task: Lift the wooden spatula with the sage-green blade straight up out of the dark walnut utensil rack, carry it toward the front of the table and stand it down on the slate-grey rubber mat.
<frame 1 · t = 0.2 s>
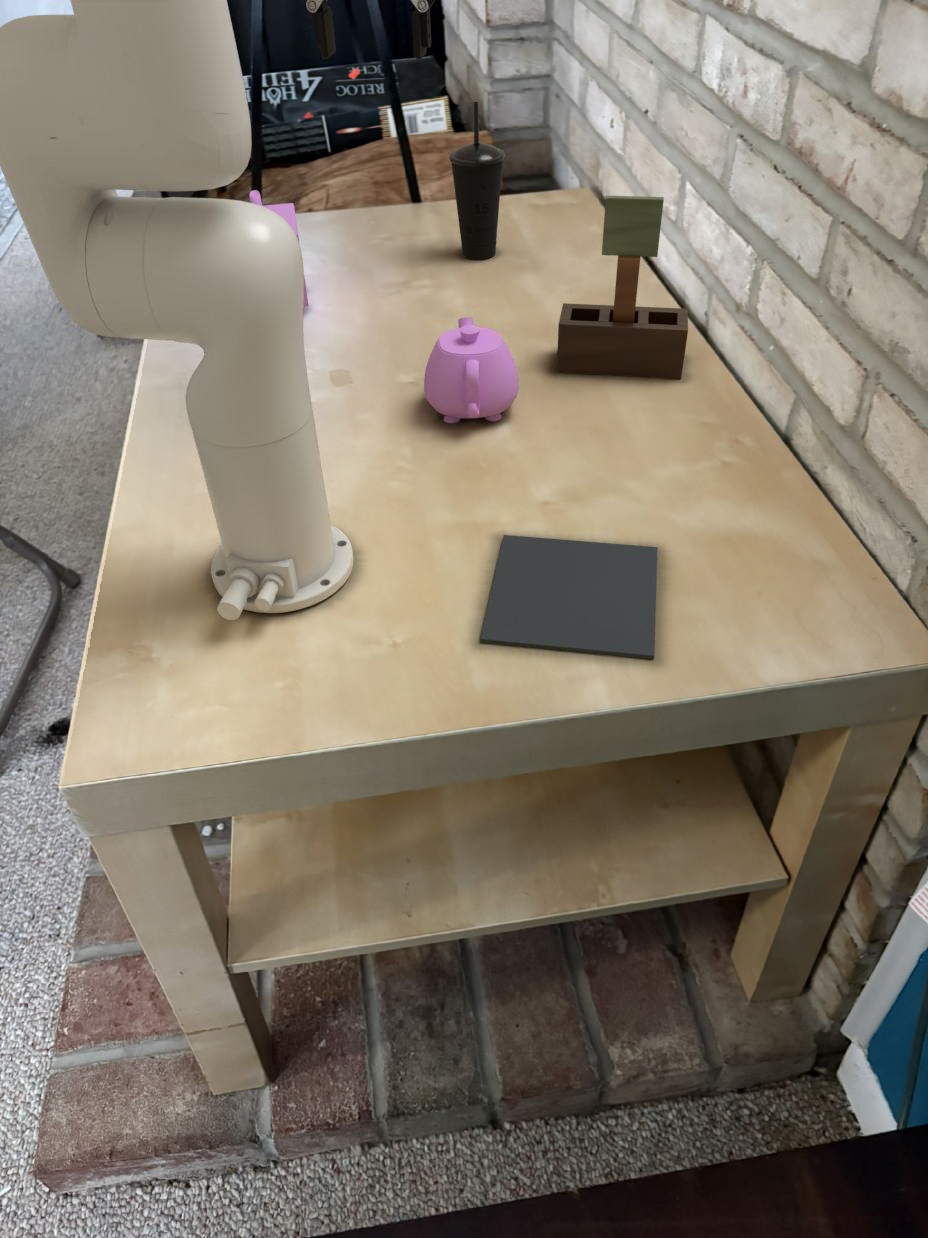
hand: (374, 55, 94), 31 cm above the table, tool pointing down, fingers open, 9 cm apart
teapot: (270, 299, 126), on the table
mat: (573, 594, 79), on the table
spatula: (626, 286, 103), in the rack
rack: (619, 364, 109), on the table
teapot 2: (471, 404, 104), on the table
drinking cup: (478, 254, 135), on the table
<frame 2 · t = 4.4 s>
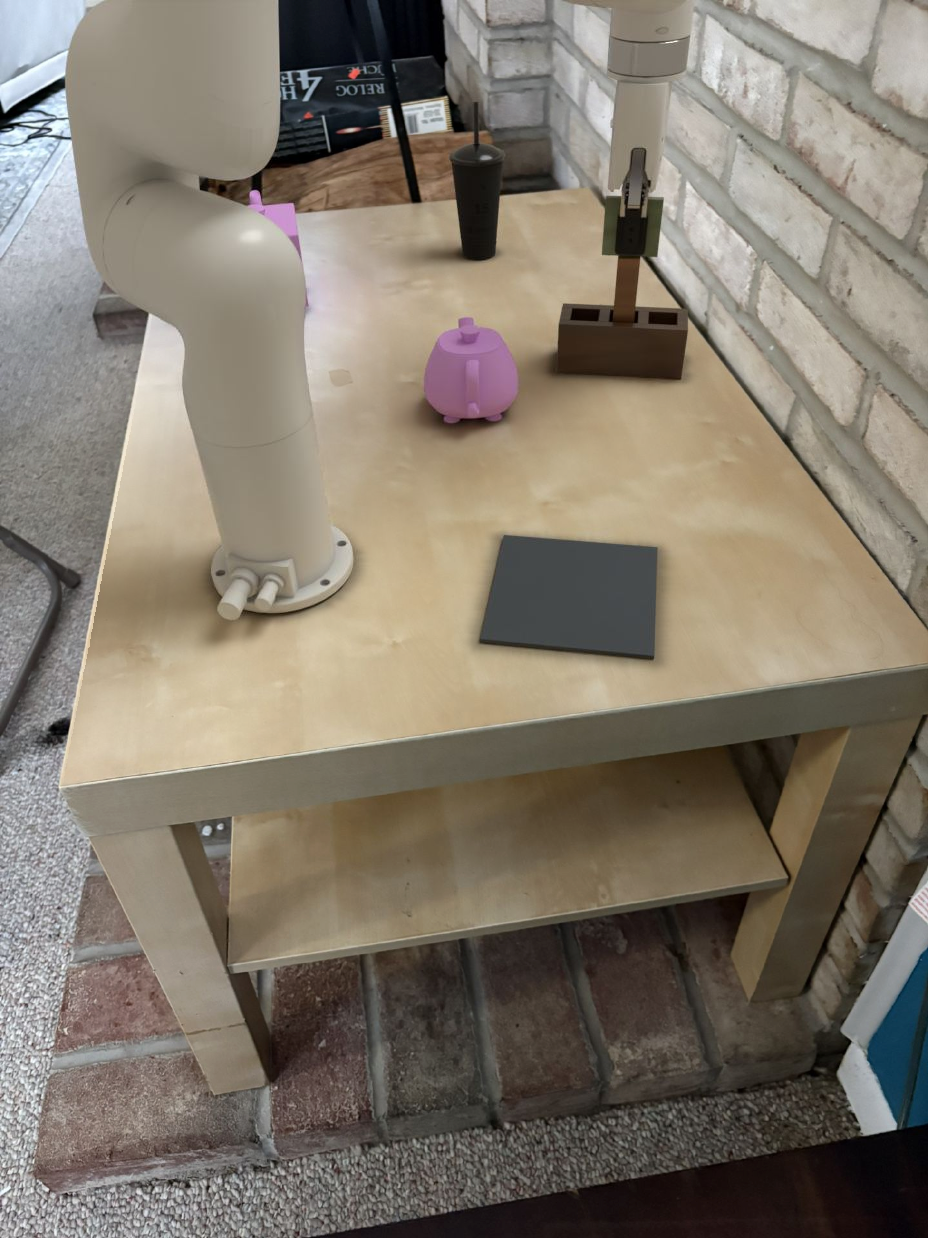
hand: (629, 249, 100), 14 cm above the table, tool pointing down, fingers closed on spatula, 1 cm apart
spatula: (626, 286, 103), in the rack, touching gripper
everything else where it was.
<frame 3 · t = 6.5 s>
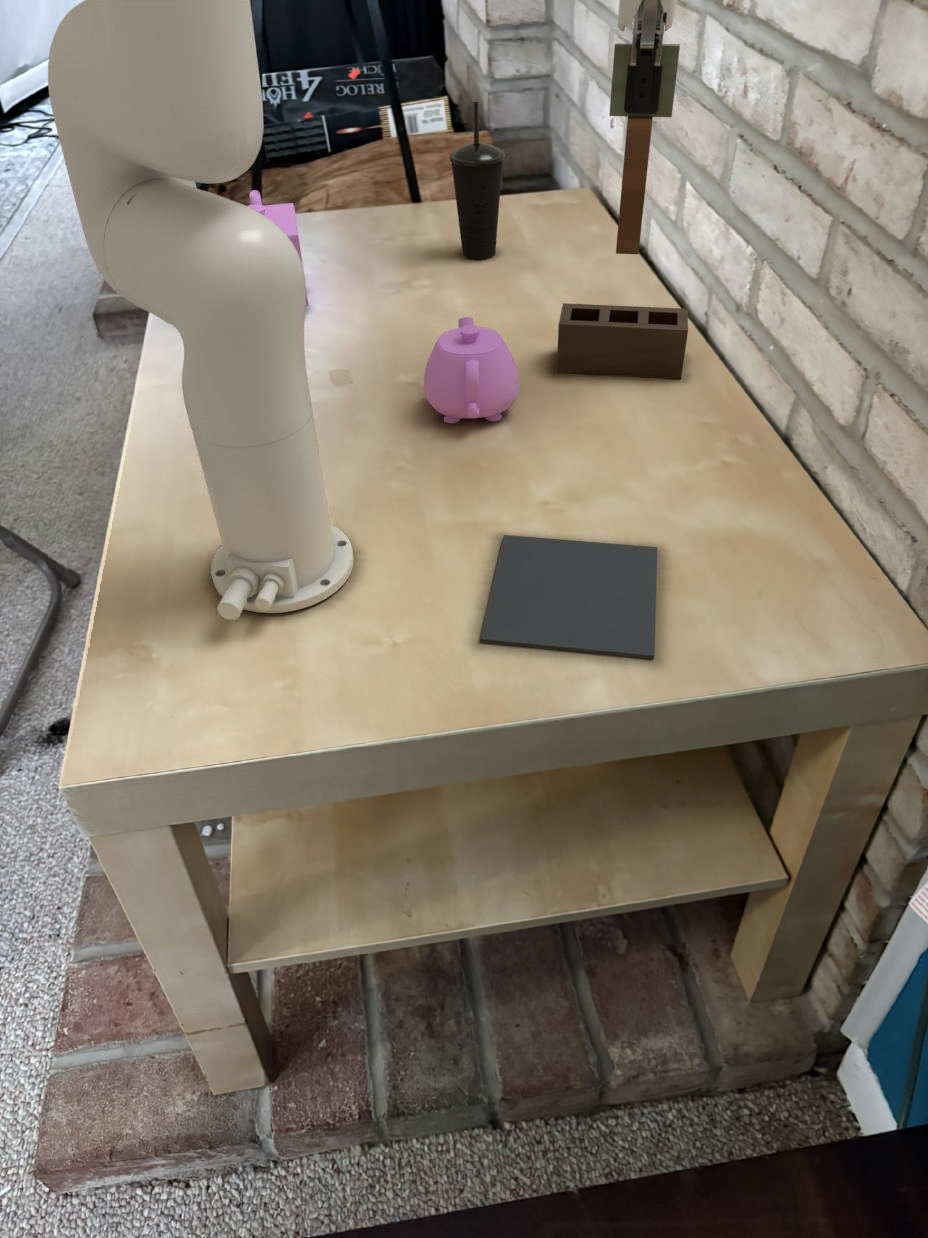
hand: (640, 109, 89), 28 cm above the table, tool pointing down, fingers closed on spatula, 1 cm apart
spatula: (636, 154, 92), point 24 cm above the table, touching gripper
everything else where it was.
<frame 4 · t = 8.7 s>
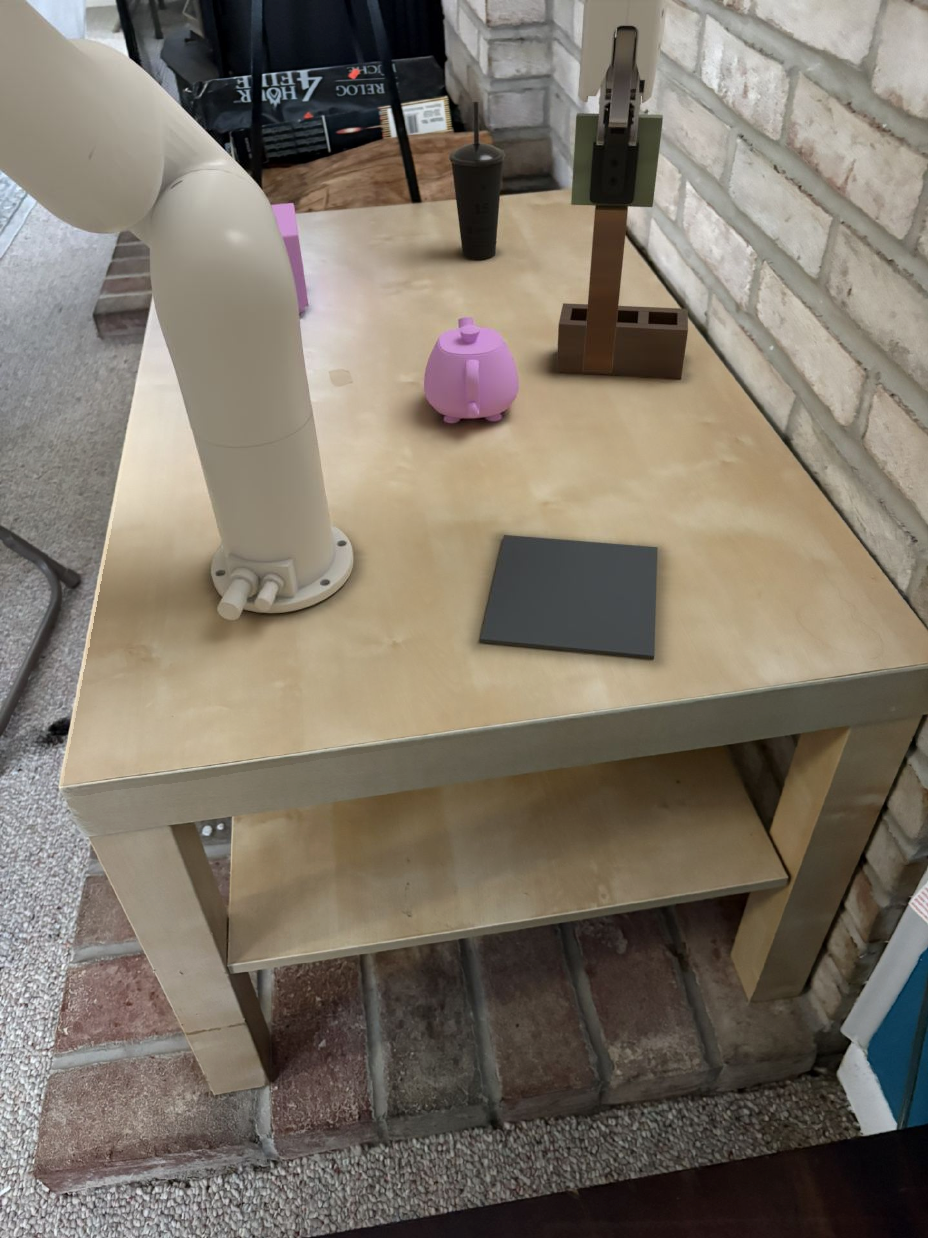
hand: (611, 197, 68), 29 cm above the table, tool pointing down, fingers closed on spatula, 1 cm apart
spatula: (607, 251, 71), point 25 cm above the table, touching gripper
everything else where it was.
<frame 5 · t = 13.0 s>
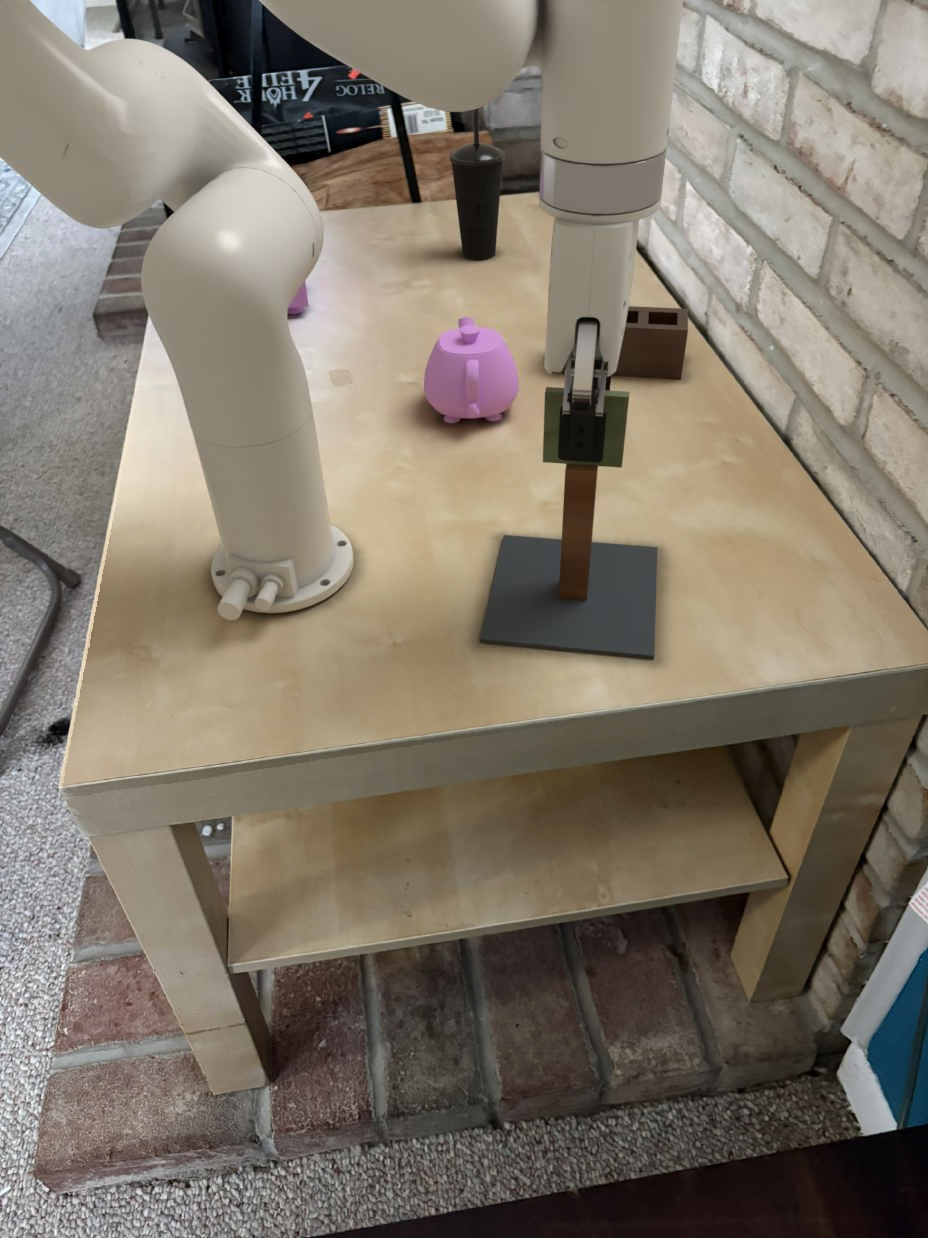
hand: (583, 432, 68), 16 cm above the table, tool pointing down, fingers open, 6 cm apart
spatula: (579, 499, 72), on the mat
everything else where it was.
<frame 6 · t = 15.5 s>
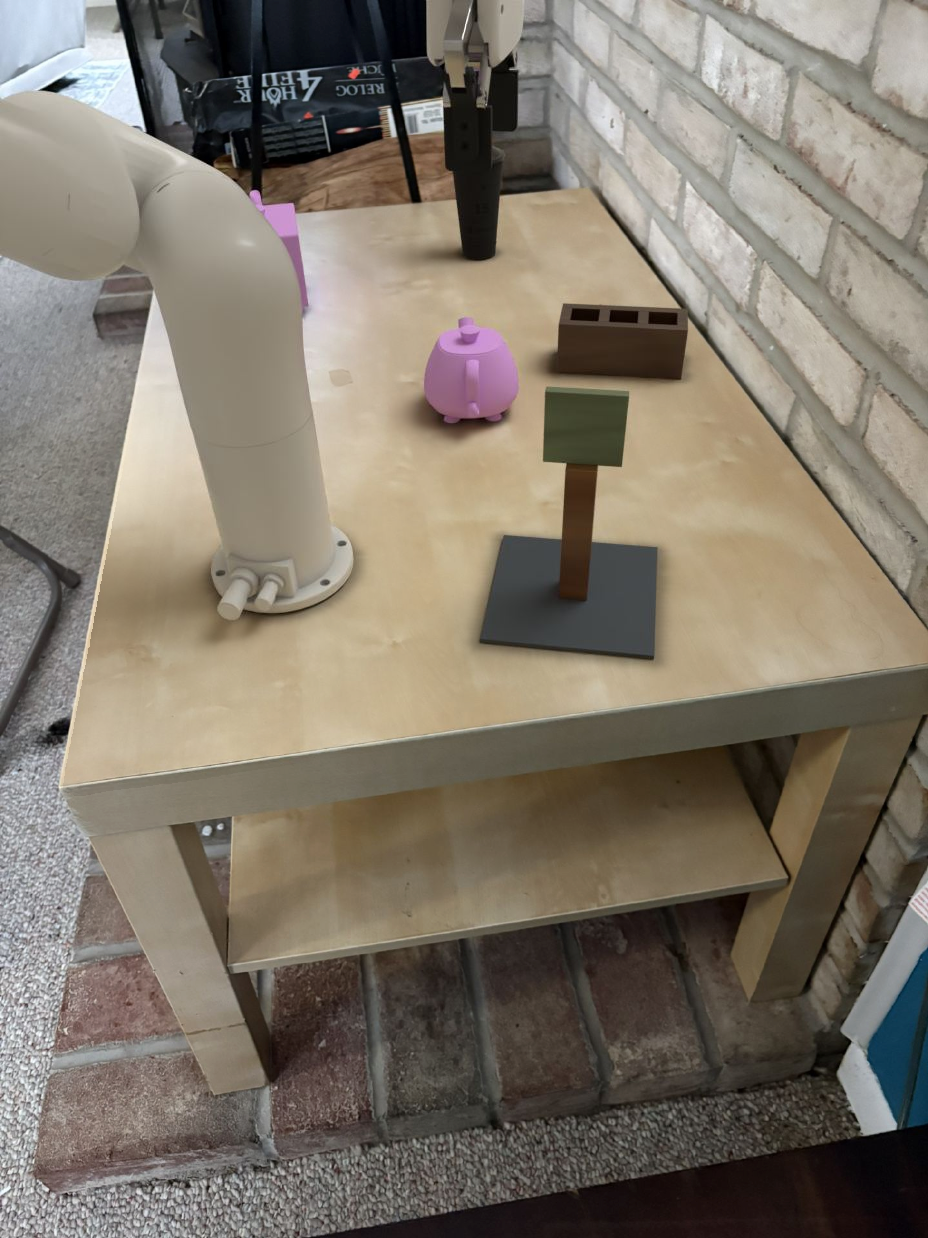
hand: (483, 148, 66), 32 cm above the table, tool pointing down, fingers open, 9 cm apart
nothing on the table moved.
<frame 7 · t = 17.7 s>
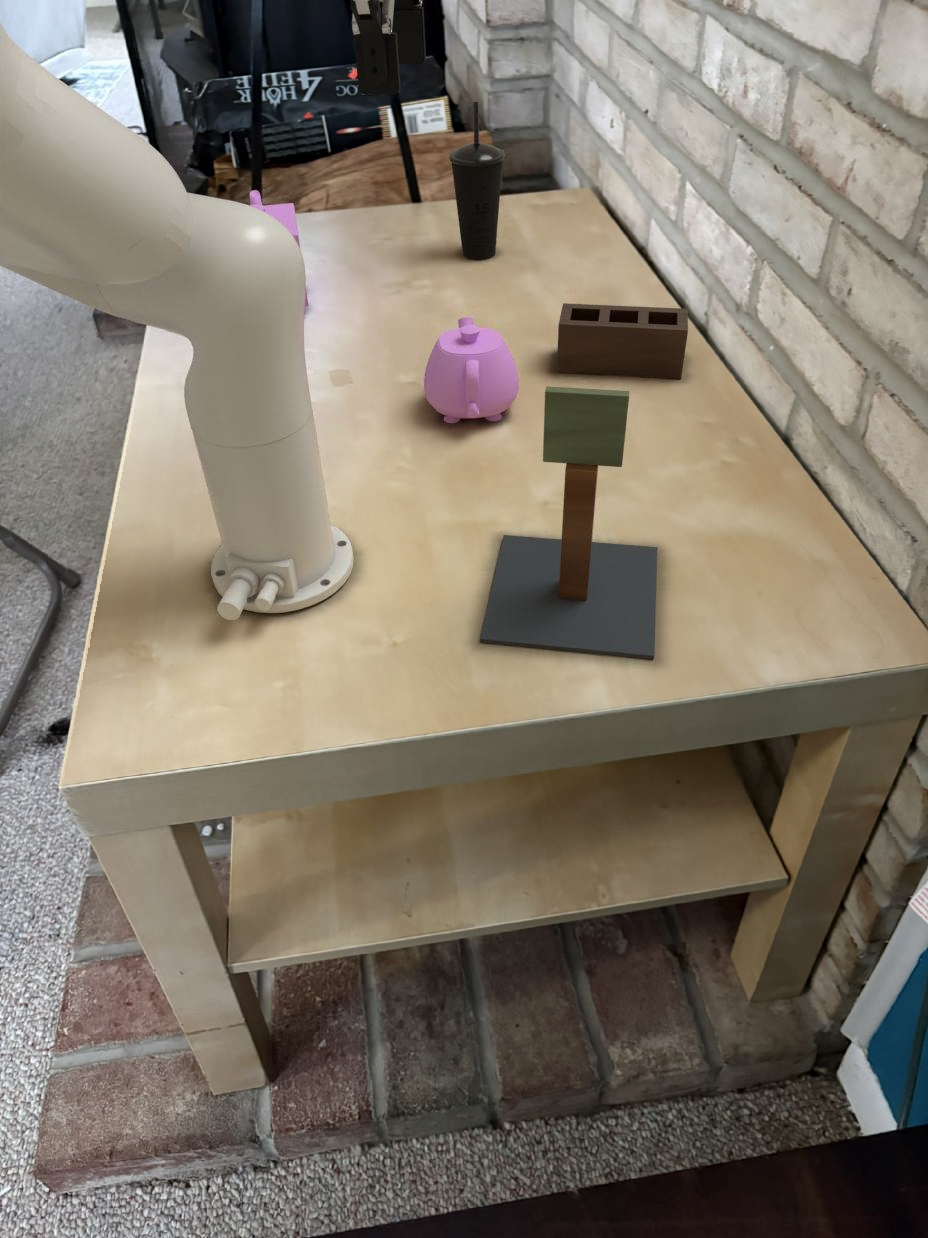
hand: (394, 77, 74), 34 cm above the table, tool pointing down, fingers open, 9 cm apart
nothing on the table moved.
at the end: spatula inside the target area on the mat (0.0 cm from its centre), point 9.9 cm above the mat's base; the gripper is holding nothing; spatula moved 42.0 cm from its start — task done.
